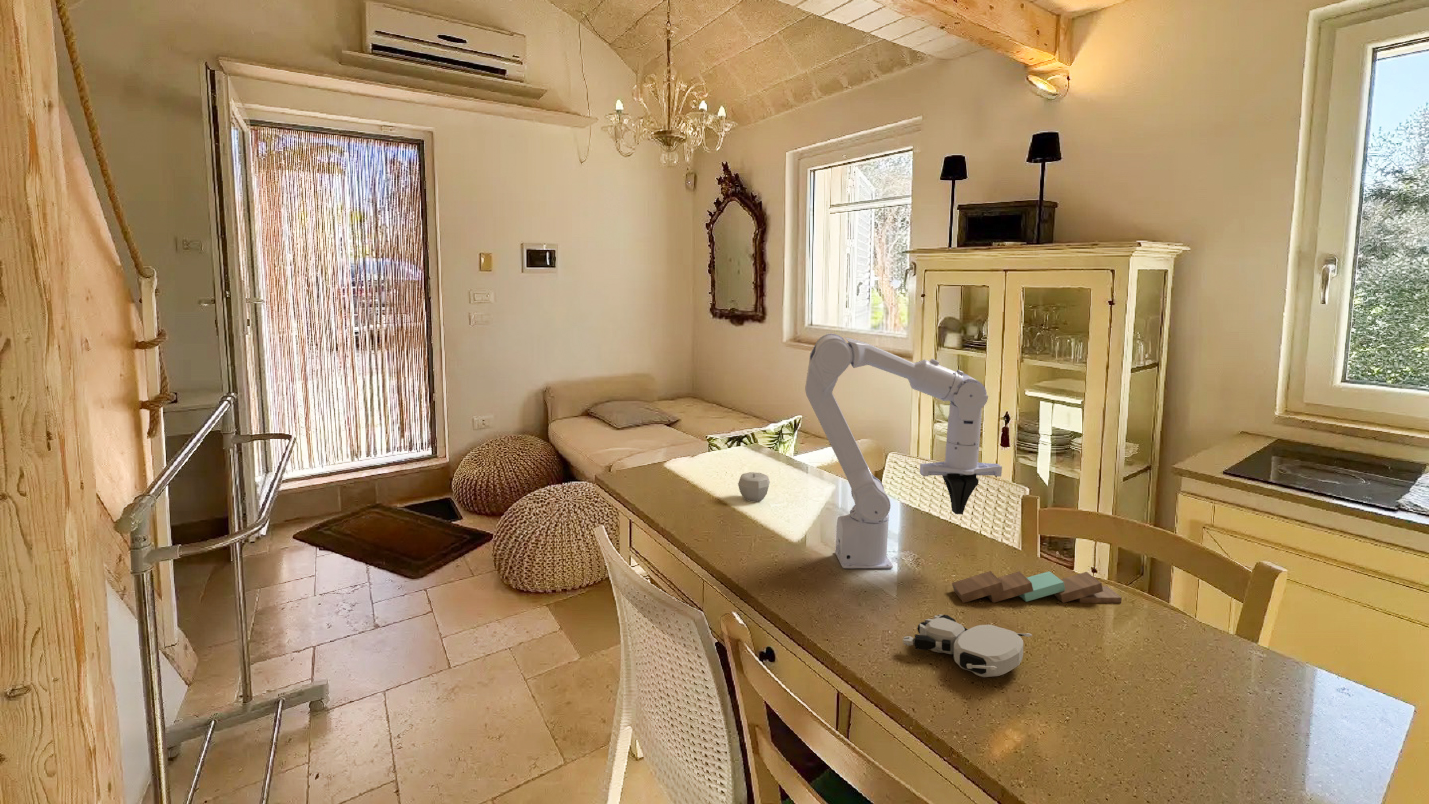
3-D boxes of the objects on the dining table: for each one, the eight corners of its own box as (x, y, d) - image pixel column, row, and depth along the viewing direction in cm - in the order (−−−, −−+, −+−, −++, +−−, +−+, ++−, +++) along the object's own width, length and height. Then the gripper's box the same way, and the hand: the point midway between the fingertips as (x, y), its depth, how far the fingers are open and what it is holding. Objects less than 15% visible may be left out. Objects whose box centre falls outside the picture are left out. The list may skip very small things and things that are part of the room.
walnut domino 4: (1080, 597, 117) (1121, 597, 117) (1067, 585, 122) (1107, 586, 122) (1079, 606, 117) (1120, 606, 118) (1066, 594, 122) (1106, 594, 122)
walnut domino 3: (1061, 594, 117) (1101, 582, 117) (1047, 582, 121) (1086, 571, 121) (1062, 602, 117) (1103, 591, 117) (1049, 591, 121) (1088, 579, 121)
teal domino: (1012, 590, 122) (1050, 579, 122) (1025, 601, 117) (1065, 590, 118) (1011, 581, 121) (1049, 571, 122) (1024, 593, 117) (1063, 581, 117)
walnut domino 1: (961, 594, 117) (1001, 582, 116) (951, 582, 121) (990, 570, 121) (963, 602, 117) (1003, 590, 117) (954, 591, 121) (992, 579, 121)
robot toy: (897, 660, 101) (1000, 697, 91) (896, 630, 101) (1000, 664, 90) (937, 630, 110) (1035, 660, 99) (937, 602, 109) (1036, 630, 99)
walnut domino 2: (990, 594, 117) (1031, 582, 117) (980, 582, 121) (1019, 571, 121) (993, 602, 117) (1033, 590, 117) (982, 590, 121) (1021, 579, 121)
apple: (731, 501, 167) (731, 474, 166) (747, 492, 174) (747, 467, 173) (760, 507, 163) (761, 480, 162) (775, 498, 170) (776, 472, 168)
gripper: (930, 447, 123) (925, 520, 126) (1011, 447, 124) (1005, 520, 126) (918, 437, 130) (913, 506, 133) (995, 437, 131) (989, 506, 133)
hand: (957, 512), depth 130 cm, fingers closed
